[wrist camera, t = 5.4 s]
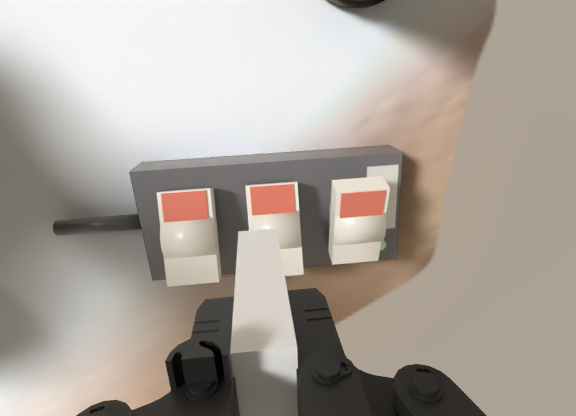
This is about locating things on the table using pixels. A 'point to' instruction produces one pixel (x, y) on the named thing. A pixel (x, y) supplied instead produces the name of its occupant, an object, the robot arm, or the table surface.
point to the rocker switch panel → (233, 205)
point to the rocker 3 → (357, 219)
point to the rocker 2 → (278, 219)
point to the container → (356, 3)
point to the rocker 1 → (189, 236)
